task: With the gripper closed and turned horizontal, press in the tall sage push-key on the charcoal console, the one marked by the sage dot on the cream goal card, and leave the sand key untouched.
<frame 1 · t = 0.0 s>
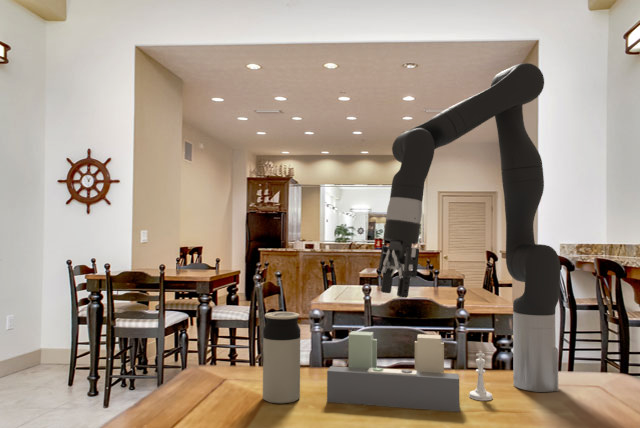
hand: (393, 294, 114), 22 cm above the table, tool pointing down, fingers open, 8 cm apart
sand key: (429, 361, 117), point 8 cm above the table, slide at 0.0 cm
console: (393, 397, 115), on the table
sage key: (361, 357, 120), point 8 cm above the table, slide at 0.0 cm
travel mug: (281, 399, 114), on the table
chess piece: (480, 398, 116), on the table
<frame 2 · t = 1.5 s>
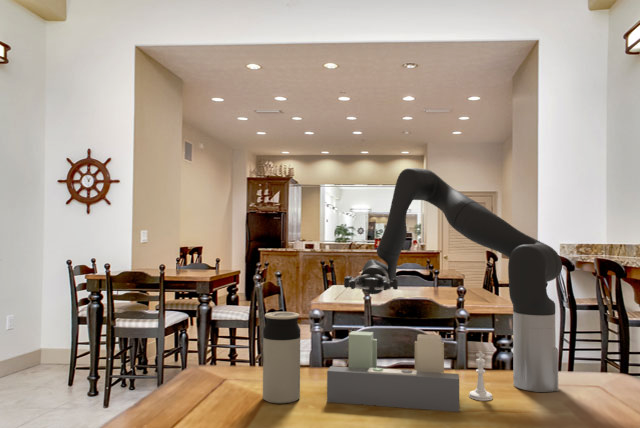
hand: (368, 285, 134), 22 cm above the table, tool horizontal, fingers open, 8 cm apart
nothing on the table moved.
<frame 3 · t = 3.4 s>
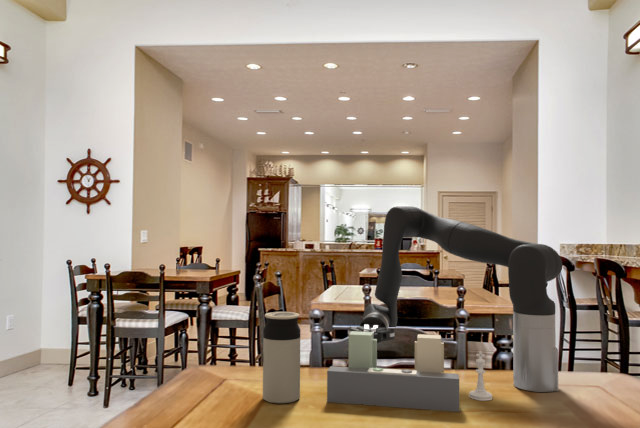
hand: (366, 339, 132), 9 cm above the table, tool horizontal, fingers closed
nothing on the table moved.
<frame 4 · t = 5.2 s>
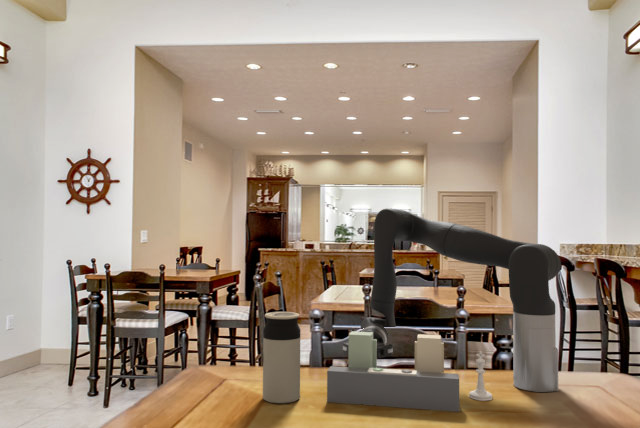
hand: (362, 356, 123), 7 cm above the table, tool horizontal, fingers closed
sage key: (361, 357, 120), point 8 cm above the table, slide at 0.1 cm, touching gripper
everything else where it was.
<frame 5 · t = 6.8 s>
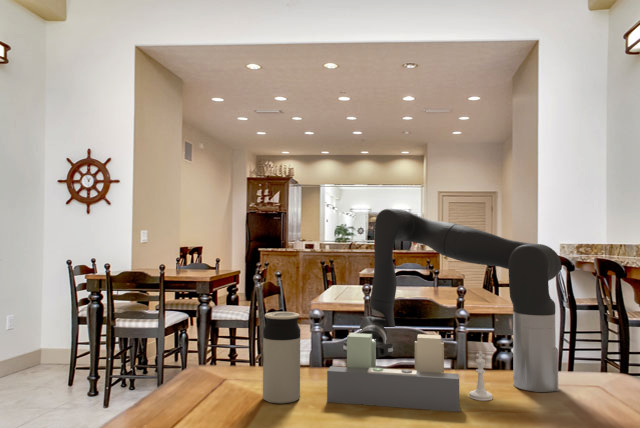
hand: (363, 356, 124), 7 cm above the table, tool horizontal, fingers closed
sage key: (360, 359, 118), point 8 cm above the table, slide at 2.3 cm
everything else where it was.
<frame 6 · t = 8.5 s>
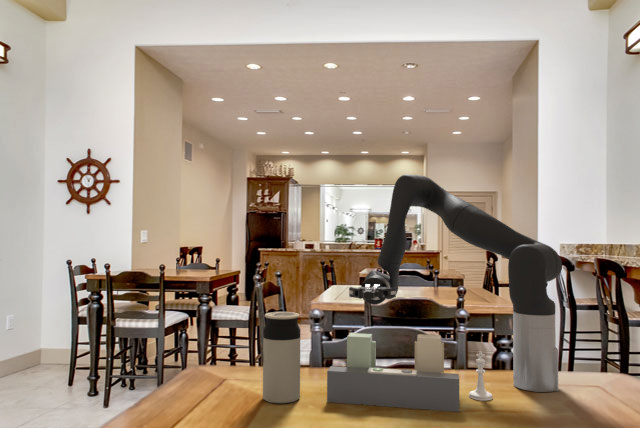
hand: (368, 295, 132), 20 cm above the table, tool horizontal, fingers closed
nothing on the table moved.
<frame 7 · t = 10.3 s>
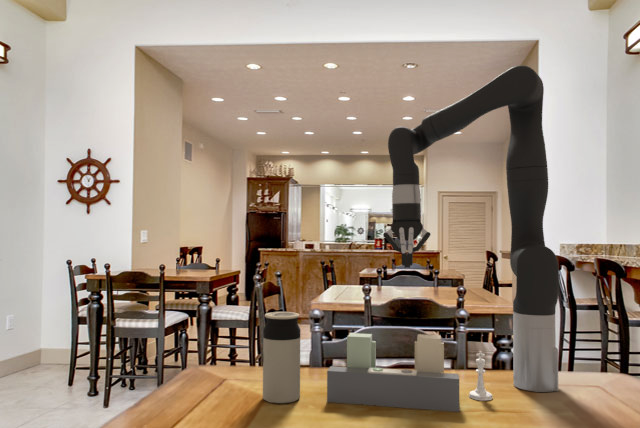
hand: (407, 267, 141), 27 cm above the table, tool pointing down, fingers closed
nothing on the table moved.
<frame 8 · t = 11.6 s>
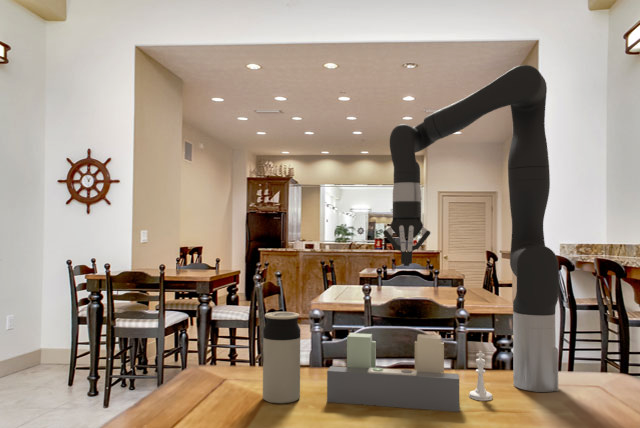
hand: (406, 265, 141), 27 cm above the table, tool pointing down, fingers closed
nothing on the table moved.
at the end: sage key slide at 2.3 cm; sand key slide at 0.0 cm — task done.
